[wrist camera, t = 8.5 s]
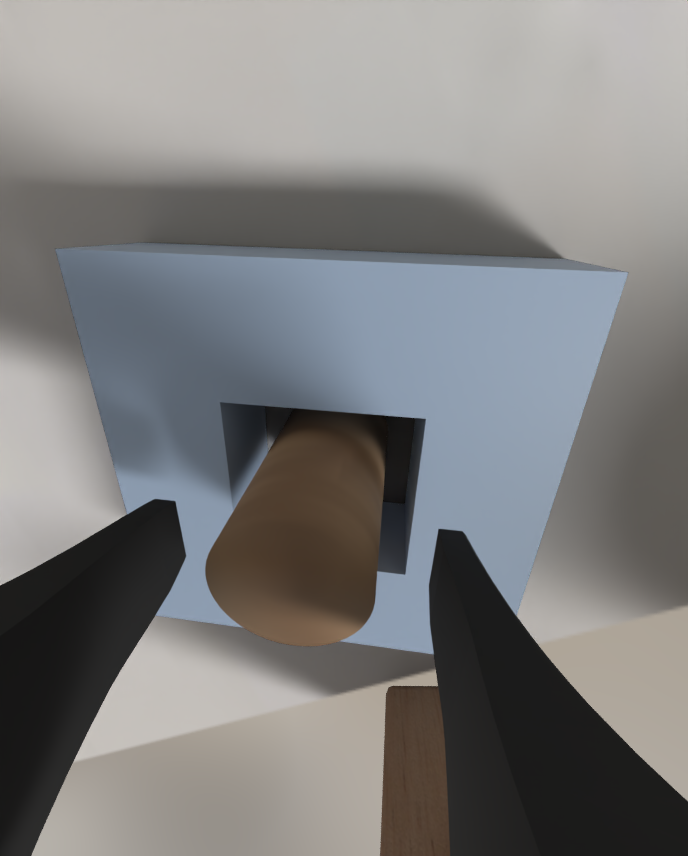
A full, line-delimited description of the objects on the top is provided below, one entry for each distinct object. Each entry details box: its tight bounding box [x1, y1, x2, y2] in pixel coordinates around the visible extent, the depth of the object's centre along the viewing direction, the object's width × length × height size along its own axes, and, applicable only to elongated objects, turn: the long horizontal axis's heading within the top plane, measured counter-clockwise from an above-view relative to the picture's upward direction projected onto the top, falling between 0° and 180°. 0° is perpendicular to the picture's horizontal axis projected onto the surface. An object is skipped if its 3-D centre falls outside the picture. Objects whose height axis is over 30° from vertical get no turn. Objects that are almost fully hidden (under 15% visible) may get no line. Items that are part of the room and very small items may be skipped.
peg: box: [205, 408, 388, 646], centre depth 13 cm, size 4×4×8 cm
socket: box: [55, 243, 628, 654], centre depth 15 cm, size 14×14×4 cm
